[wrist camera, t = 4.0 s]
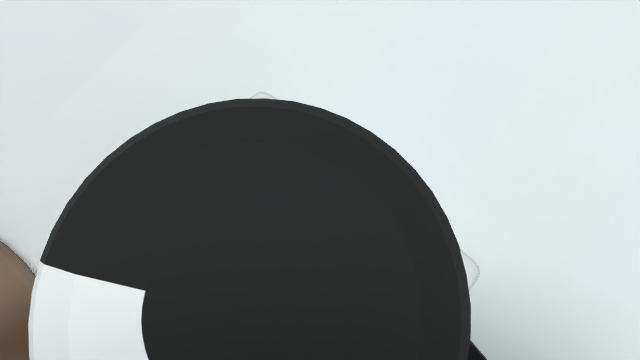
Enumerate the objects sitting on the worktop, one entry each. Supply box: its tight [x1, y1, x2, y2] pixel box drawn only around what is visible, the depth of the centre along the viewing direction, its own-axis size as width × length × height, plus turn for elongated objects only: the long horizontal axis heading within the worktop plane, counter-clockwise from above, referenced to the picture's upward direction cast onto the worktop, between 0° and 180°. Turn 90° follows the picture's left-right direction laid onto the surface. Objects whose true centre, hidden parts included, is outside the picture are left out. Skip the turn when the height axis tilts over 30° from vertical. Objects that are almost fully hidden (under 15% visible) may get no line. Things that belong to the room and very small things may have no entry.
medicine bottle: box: [28, 92, 480, 360], centre depth 11 cm, size 7×7×12 cm
